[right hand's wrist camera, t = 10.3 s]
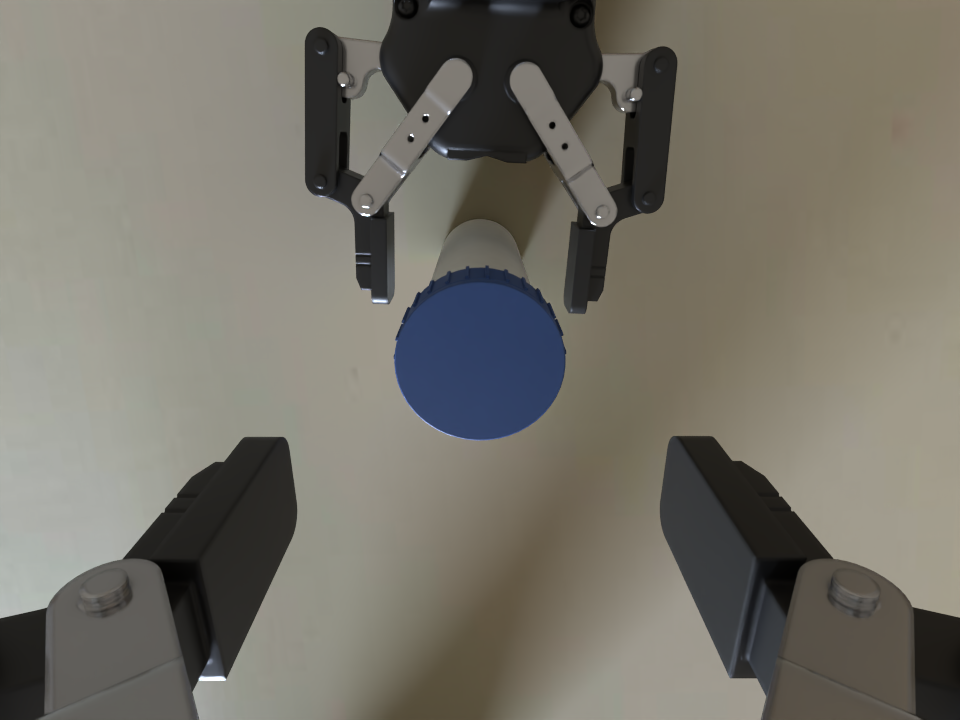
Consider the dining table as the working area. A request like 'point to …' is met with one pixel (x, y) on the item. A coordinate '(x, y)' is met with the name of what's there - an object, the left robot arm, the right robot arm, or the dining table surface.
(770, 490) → the right robot arm
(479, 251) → the bottle
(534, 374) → the lid
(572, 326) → the dining table surface
